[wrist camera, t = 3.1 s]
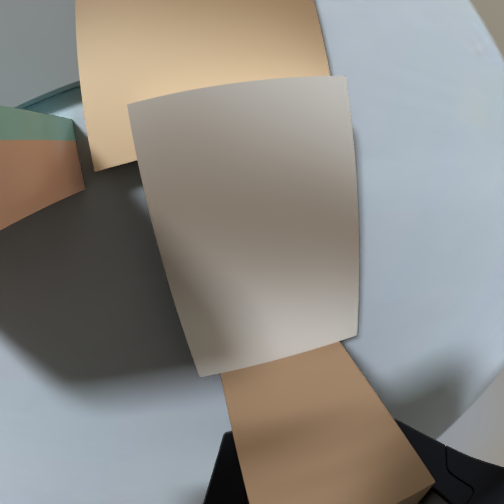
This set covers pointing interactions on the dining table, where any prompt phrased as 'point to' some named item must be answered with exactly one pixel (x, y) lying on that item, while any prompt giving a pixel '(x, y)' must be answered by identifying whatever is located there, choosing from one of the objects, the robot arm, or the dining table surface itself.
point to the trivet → (37, 50)
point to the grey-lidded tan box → (274, 282)
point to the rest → (182, 55)
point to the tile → (35, 162)
